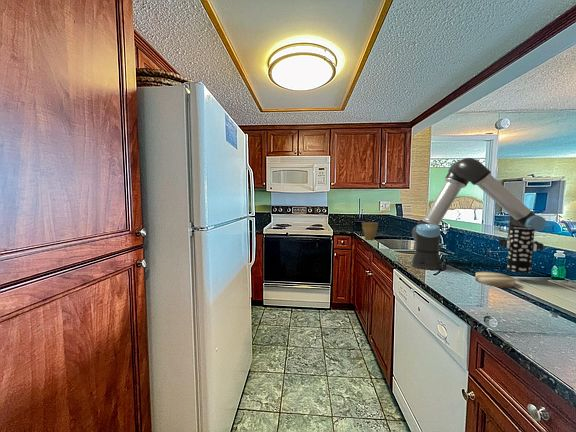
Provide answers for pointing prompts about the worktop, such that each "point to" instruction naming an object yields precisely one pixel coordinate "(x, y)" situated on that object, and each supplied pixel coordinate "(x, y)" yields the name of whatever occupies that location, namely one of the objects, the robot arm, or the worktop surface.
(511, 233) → the spotted tube
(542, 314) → the worktop surface
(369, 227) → the plant pot
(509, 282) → the maple plinth
